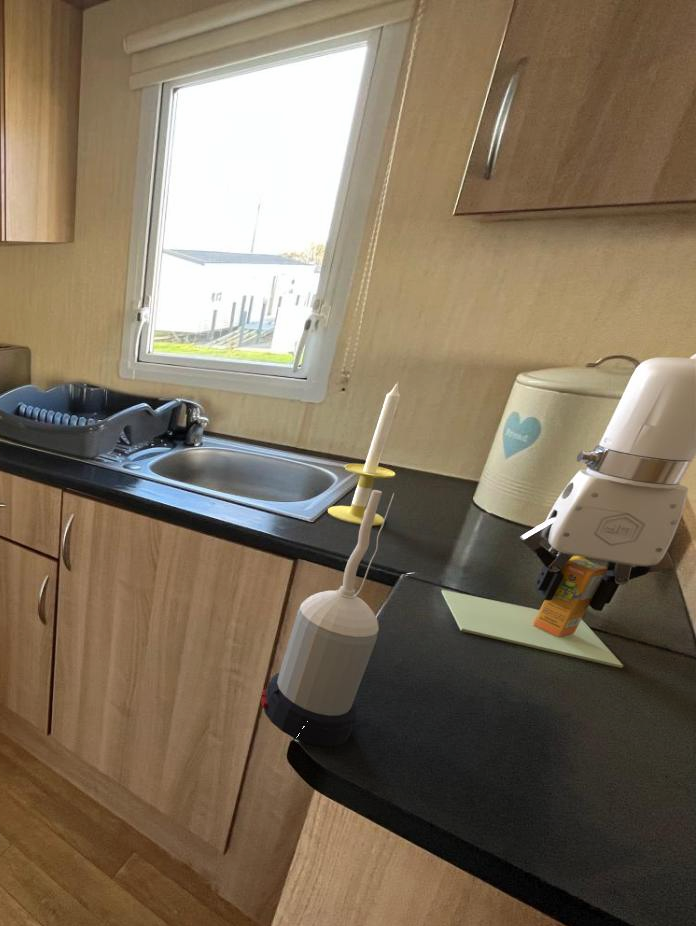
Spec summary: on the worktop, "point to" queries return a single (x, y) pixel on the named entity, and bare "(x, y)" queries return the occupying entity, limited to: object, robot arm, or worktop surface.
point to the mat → (524, 628)
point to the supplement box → (570, 597)
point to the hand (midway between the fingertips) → (567, 599)
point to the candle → (370, 467)
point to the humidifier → (326, 657)
